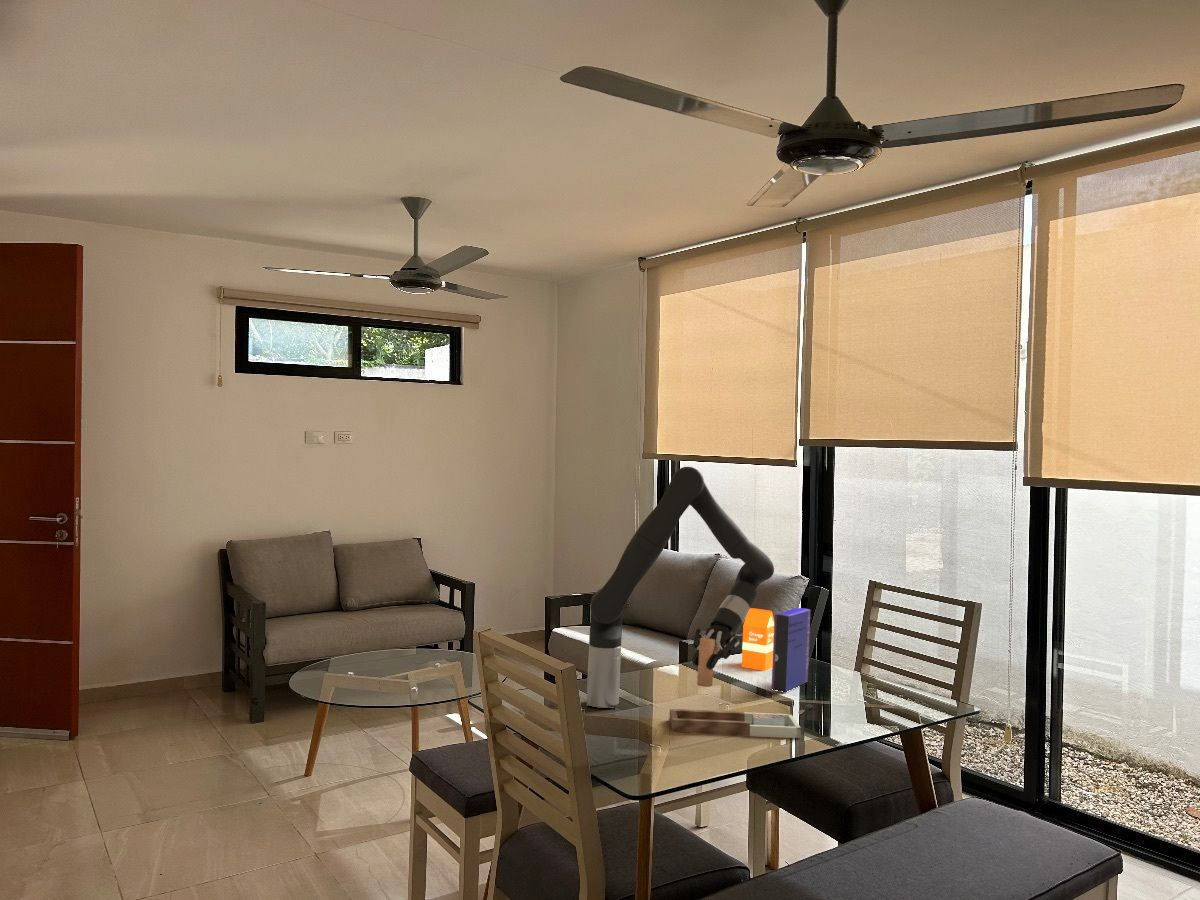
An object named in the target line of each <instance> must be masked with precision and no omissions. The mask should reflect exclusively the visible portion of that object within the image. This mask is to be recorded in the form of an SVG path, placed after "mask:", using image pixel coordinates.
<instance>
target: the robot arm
mask: <svg viewBox="0 0 1200 900" xmlns="http://www.w3.org/2000/svg"><path fill="white" fill-rule="evenodd" d="M689 506H691V507H692V508H693V509H694V510H695V511H696V513H697V514H698V515H699V516H700V518H701V519H702V520H703V522H704V523H705V525H706V526H707V527H708V529H709V530H710V531H711V533H712V535H713V536H714V538H715V539H716V541H718V543H719V544H720V546H721V547H722V548H723V549H724V551H725V552H726V553H727V554H728V555H729V556H730V558H732V559H733V560H736V559H737V560H738V559H739V560H741V561H742V562H743V563H744V564H743V565H742V566H741V567H740V569H739V571H738V573H737V576H736V579H735V581H734V584H733V586H732V588H731V589H730V591H728V594H727V596H726V598H725V599H724V600H723V601H722V603H721V604H720V606H719V608H718V609H717V610H716V612H715V614H714V615H713V618H712V619H711V622H710V626H708V627H707V628H706V629H705V630H701V628H697V629H696V630H695V635H694V638H693V644H692V646H693V649H694V650H695V653H694V655H693V656H692V658H691V663H692V665H693V666H694V667H698V662H699V646H700V638H712V639H715V650H714V654H712V655H711V657H710V658H709V660H708V662H707V664H706V667H707V668H708V669H709V670H712V668H713V669H714V668H715V667H716V665H717V663H718V662H719V660H721V659H724V660H727V659H729V657H731V655H733V653H734V652H735V651H736V650H737V649H738V648H739V647H740V646H741V642H740V641H739V639H738V637H735V636H736V635H737V634H738V632H739V631H740V628H741V627H742V626H743V625H744V622H745V619H746V617H747V614H748V612H749V610H750V608H752V606H753V604H754V603H755V601H756V599H757V596H758V593H757V592H758V591H757V589H758V587H759V586H760V584H762V583H764V582H766V581H768V580H770V579H771V578H772V577H773V576H774V573H775V566H774V564H773V562H772V560H771V558H770V557H769V556H768V555H767V554H766V553H765V552H764V551H762V550H761V549H760V548H759V547H757V546H756V545H755V544H754V543H752V542H751V541H750V540H749V538H748V537H747V536H746V535H745V533H744V532H743V531H742V530H741V529H740V527H739V526H738V524H737V523H736V522H735V521H734V520H733V518H731V517H730V516H729V515H728V514H727V513H726V511H725V510H724V508H722V507H721V506H720V505H719V503H718V501H717V500H716V499H715V498H714V496H713V495H712V493H711V491H710V490H709V488H708V486H707V485H706V483H705V480H704V476H703V475H702V473H701V472H700V470H698V469H697V468H696V467H693V466H683V467H680V468H678V469H677V470H676V471H675V472H674V473H673V475H672V477H671V480H670V482H669V484H668V486H667V488H666V489H665V492H664V493H663V495H662V497H661V498H660V500H659V502H658V504H657V505H656V506H655V508H654V509H652V511H651V512H650V514H648V516H647V517H645V519H644V520H643V522H642V523H641V524H640V526H639V527H638V529H637V530H636V531H635V533H634V534H633V536H632V538H631V539H630V541H629V543H628V544H627V546H626V547H625V549H624V551H623V553H622V555H621V557H620V558H619V562H618V564H617V565H616V568H615V570H614V571H613V573H612V574H611V576H610V578H609V579H608V580H607V581H606V583H605V584H604V585H603V586H602V588H600V589H598V590H596V591H595V593H593V595H592V597H591V600H590V605H589V607H590V620H589V621H590V623H589V636H588V639H589V640H588V644H589V645H588V663H587V665H588V666H587V682H586V684H587V685H586V687H587V688H586V705H587V704H592V705H596V706H600V707H615V708H616V706H617V705H619V703H620V687H621V686H620V683H621V680H620V679H621V678H620V677H621V660H622V659H621V657H622V656H621V654H622V636H623V631H622V630H623V612H624V611H623V610H624V609H625V607H626V604H627V602H628V600H629V599H630V597H631V595H632V593H633V591H634V590H635V588H636V587H637V586H638V585H639V583H640V581H641V580H643V578H644V577H645V575H647V573H648V572H649V570H650V569H651V568H652V566H654V564H655V562H656V561H657V560H658V559H659V557H660V556H661V553H662V552H663V550H664V549H665V547H666V546H667V544H668V542H669V540H670V539H671V537H672V535H673V533H674V531H675V529H676V527H677V524H678V523H679V520H680V519H681V517H682V515H683V514H684V513H685V512H686V510H687V509H688V507H689Z"/></svg>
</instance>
